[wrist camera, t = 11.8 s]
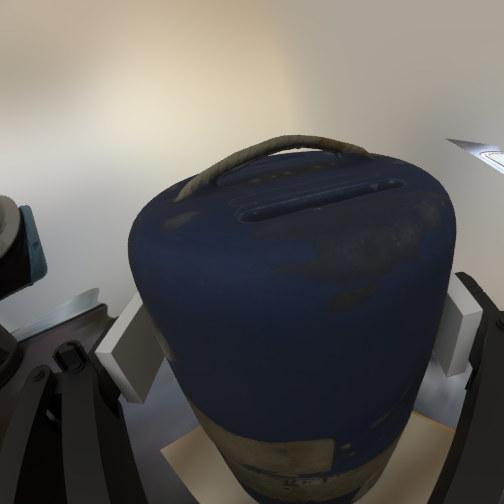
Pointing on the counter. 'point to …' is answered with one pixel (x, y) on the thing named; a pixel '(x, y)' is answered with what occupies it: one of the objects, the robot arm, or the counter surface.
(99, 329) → the counter surface
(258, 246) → the canister
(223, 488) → the dock
